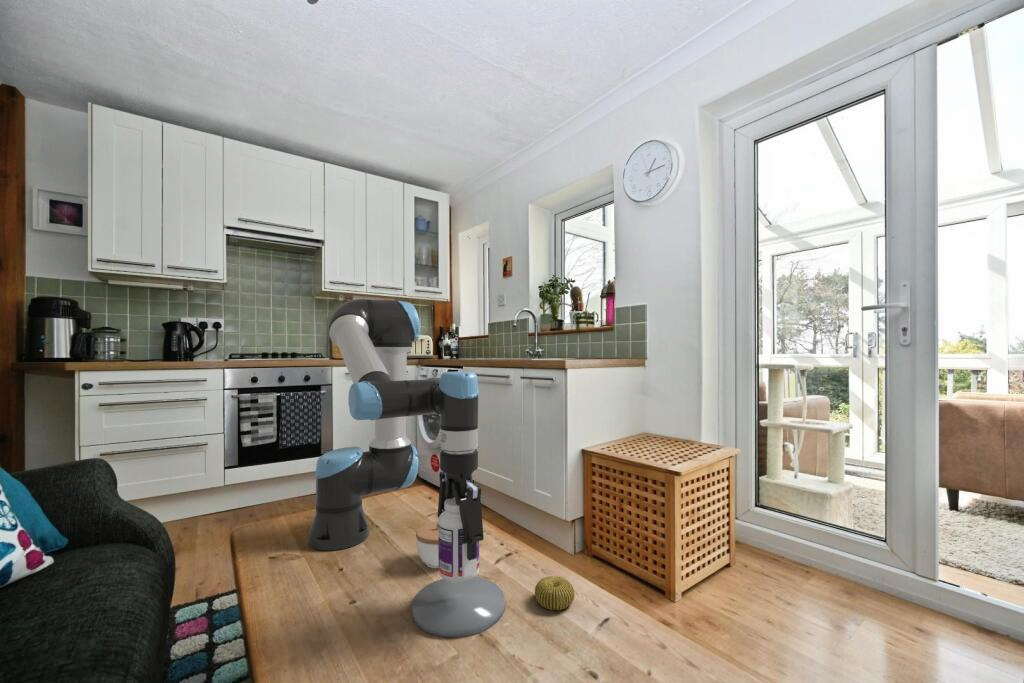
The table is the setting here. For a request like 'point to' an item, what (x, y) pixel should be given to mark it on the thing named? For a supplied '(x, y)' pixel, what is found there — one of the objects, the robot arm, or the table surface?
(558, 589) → the green barrel cactus
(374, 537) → the table surface
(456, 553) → the pill bottle
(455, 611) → the grey plate
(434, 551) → the lidded jar
